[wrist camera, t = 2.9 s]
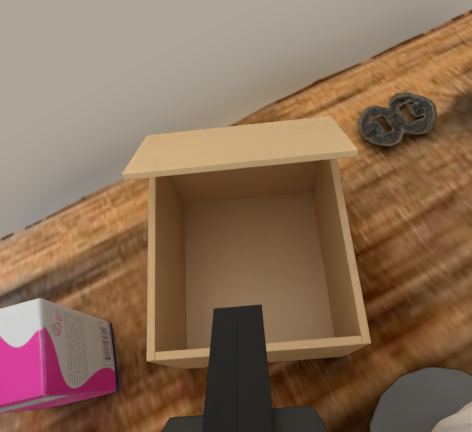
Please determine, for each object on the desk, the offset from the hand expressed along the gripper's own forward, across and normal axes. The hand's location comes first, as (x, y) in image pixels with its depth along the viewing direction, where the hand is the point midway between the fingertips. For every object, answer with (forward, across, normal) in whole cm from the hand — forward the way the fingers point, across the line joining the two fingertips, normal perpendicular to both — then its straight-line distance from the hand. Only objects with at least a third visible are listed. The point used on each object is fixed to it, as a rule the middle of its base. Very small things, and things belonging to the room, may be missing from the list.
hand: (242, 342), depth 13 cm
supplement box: (+17, -15, -14) cm, 27 cm away
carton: (+21, 0, -10) cm, 23 cm away
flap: (+15, 0, +3) cm, 15 cm away
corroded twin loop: (+31, +15, 0) cm, 34 cm away
